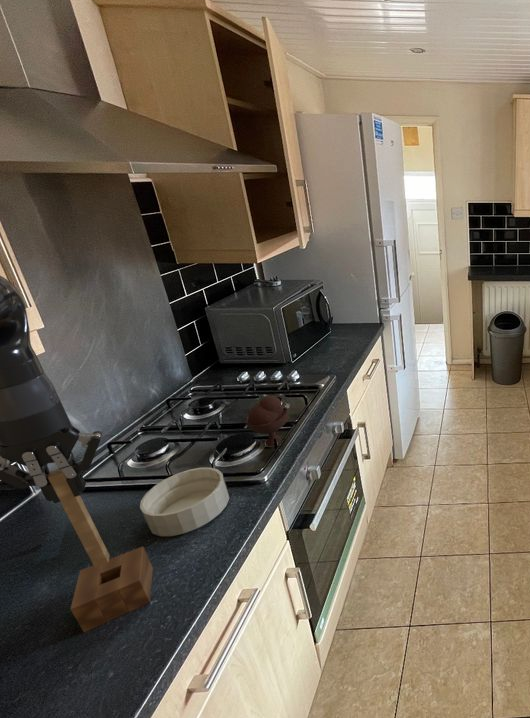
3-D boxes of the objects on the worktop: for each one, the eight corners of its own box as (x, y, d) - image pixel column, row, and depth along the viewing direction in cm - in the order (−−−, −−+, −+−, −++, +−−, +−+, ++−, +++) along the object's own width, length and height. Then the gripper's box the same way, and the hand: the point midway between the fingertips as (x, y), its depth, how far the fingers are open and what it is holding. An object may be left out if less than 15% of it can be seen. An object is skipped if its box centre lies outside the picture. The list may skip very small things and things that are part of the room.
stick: (94, 567, 73) (47, 477, 65) (96, 560, 74) (50, 471, 67) (108, 562, 74) (63, 472, 66) (109, 555, 75) (65, 466, 68)
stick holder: (83, 632, 72) (70, 609, 70) (92, 592, 79) (79, 570, 76) (150, 602, 77) (139, 580, 75) (153, 567, 84) (143, 545, 81)
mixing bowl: (147, 550, 87) (137, 527, 85) (151, 506, 99) (142, 484, 96) (232, 517, 96) (225, 495, 93) (227, 479, 107) (220, 459, 105)
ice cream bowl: (278, 427, 128) (268, 385, 123) (302, 438, 123) (292, 394, 118) (244, 446, 120) (231, 401, 114) (268, 458, 115) (256, 412, 109)
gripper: (89, 383, 69) (126, 467, 75) (-38, 409, 61) (14, 501, 68) (81, 402, 63) (121, 491, 70) (-60, 434, 55) (-1, 531, 62)
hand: (68, 496), depth 68 cm, fingers closed on stick, 2 cm apart
